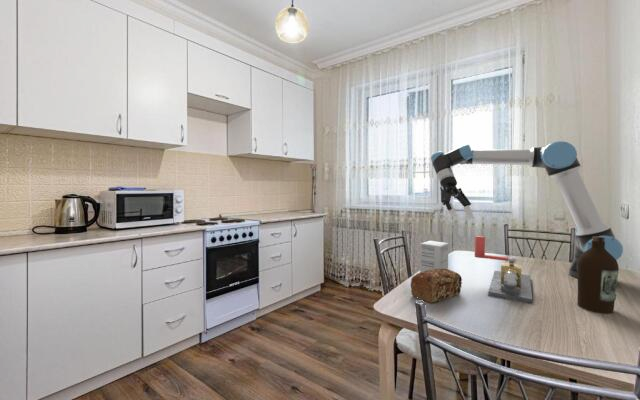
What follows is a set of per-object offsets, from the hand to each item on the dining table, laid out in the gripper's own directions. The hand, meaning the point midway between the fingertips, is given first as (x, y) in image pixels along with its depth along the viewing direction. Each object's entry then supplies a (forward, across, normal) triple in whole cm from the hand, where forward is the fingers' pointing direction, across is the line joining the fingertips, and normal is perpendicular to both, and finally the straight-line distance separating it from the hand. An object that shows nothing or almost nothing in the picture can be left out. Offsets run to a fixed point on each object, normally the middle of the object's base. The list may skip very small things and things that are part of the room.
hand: (462, 217), depth 145 cm
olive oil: (+48, -8, +29) cm, 56 cm away
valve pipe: (+34, -5, +5) cm, 35 cm away
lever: (+22, -1, +6) cm, 23 cm away
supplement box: (+25, +15, -16) cm, 33 cm away
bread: (+34, +30, -6) cm, 45 cm away
